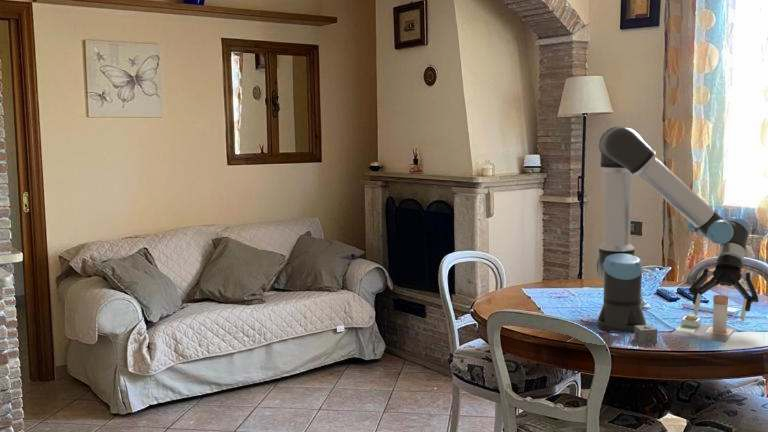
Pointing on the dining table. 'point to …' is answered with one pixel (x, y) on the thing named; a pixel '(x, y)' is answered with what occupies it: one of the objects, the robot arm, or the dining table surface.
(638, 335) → the grey smiley picture cube
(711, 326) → the grey flat square panel
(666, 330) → the dining table surface
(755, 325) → the dining table surface
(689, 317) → the button
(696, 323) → the button housing
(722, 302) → the ball
